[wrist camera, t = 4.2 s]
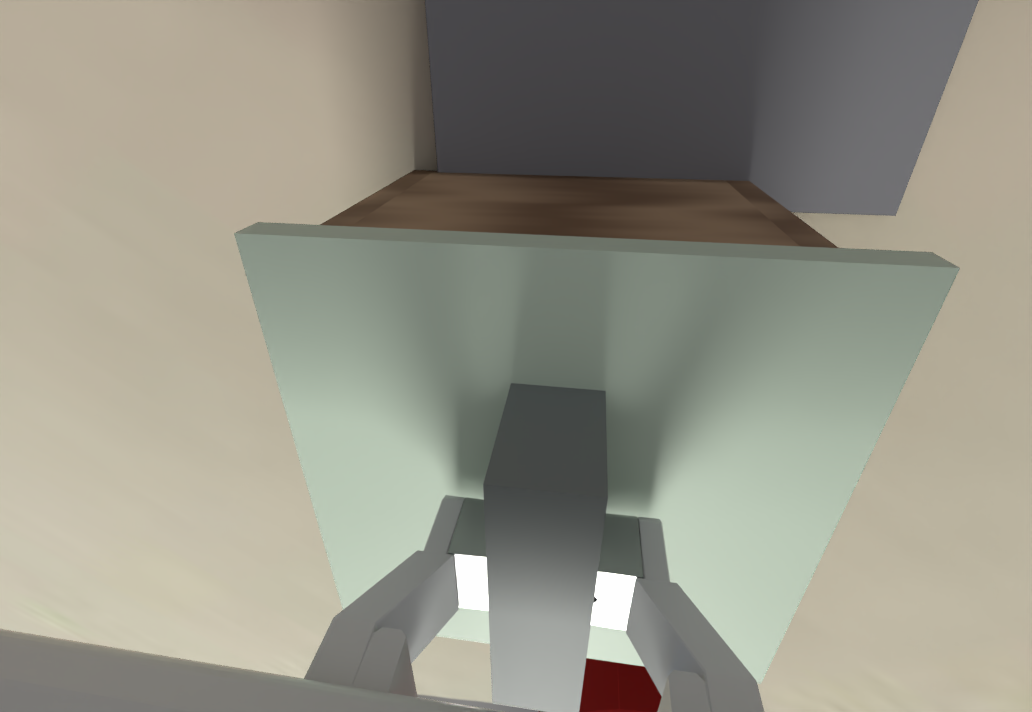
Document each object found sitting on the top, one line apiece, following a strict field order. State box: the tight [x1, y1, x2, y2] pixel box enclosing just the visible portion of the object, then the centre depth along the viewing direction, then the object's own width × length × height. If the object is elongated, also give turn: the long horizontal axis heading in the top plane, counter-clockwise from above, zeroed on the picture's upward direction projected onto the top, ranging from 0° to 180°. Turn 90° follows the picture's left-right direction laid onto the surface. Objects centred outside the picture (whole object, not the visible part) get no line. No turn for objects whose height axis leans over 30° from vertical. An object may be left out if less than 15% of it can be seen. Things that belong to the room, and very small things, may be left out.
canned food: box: [539, 658, 662, 712], centre depth 23 cm, size 8×8×11 cm
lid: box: [234, 222, 960, 712], centre depth 12 cm, size 13×13×5 cm
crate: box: [321, 170, 838, 248], centre depth 17 cm, size 12×12×9 cm
